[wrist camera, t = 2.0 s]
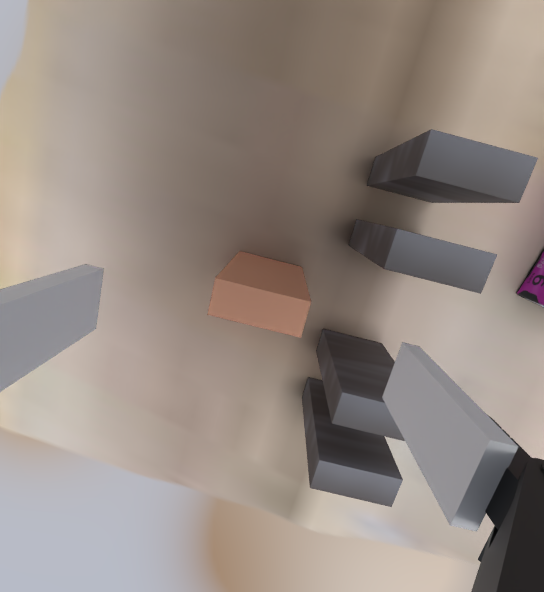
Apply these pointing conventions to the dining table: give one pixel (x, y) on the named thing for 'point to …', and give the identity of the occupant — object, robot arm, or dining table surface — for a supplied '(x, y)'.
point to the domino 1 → (261, 294)
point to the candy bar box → (534, 283)
